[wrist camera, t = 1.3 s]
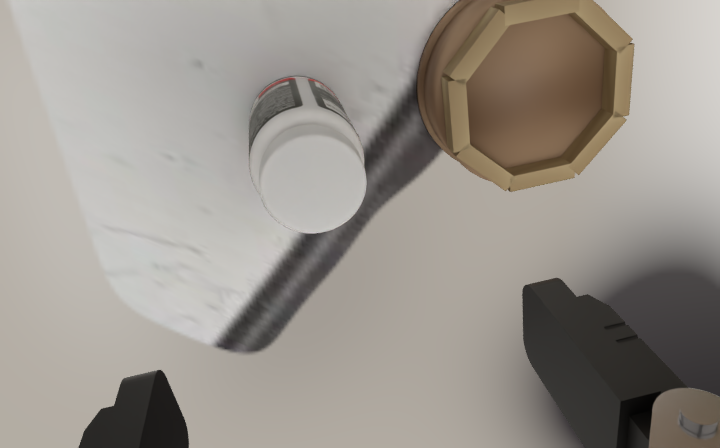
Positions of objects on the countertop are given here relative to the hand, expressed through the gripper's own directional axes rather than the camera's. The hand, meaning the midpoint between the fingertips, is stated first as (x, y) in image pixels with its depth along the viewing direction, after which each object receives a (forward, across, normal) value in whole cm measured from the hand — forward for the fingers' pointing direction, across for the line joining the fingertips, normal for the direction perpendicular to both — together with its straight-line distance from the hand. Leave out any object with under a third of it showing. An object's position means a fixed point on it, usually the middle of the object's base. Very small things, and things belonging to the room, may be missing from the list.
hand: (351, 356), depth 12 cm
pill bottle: (+18, 0, 0) cm, 18 cm away
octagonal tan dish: (+18, -11, 0) cm, 21 cm away
